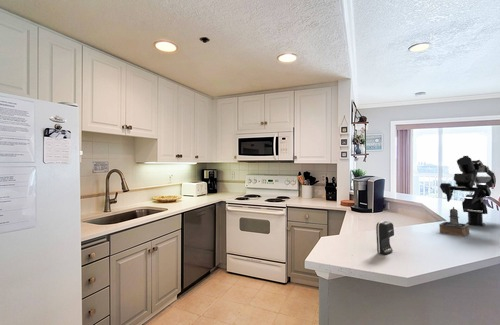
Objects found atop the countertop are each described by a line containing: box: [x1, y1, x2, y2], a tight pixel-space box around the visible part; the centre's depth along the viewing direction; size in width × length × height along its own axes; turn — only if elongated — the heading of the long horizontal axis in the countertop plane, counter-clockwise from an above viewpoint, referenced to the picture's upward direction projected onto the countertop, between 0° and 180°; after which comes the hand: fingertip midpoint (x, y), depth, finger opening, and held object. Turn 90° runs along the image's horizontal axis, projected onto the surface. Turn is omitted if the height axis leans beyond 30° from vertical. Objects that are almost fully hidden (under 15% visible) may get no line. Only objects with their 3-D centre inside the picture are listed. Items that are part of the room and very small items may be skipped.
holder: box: [439, 221, 470, 237], centre depth 115 cm, size 9×9×4 cm
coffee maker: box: [375, 220, 395, 255], centre depth 91 cm, size 7×4×11 cm, turn 126°
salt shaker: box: [446, 206, 462, 227], centre depth 115 cm, size 6×6×12 cm
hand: (459, 202), depth 119 cm, fingers open, 9 cm apart
